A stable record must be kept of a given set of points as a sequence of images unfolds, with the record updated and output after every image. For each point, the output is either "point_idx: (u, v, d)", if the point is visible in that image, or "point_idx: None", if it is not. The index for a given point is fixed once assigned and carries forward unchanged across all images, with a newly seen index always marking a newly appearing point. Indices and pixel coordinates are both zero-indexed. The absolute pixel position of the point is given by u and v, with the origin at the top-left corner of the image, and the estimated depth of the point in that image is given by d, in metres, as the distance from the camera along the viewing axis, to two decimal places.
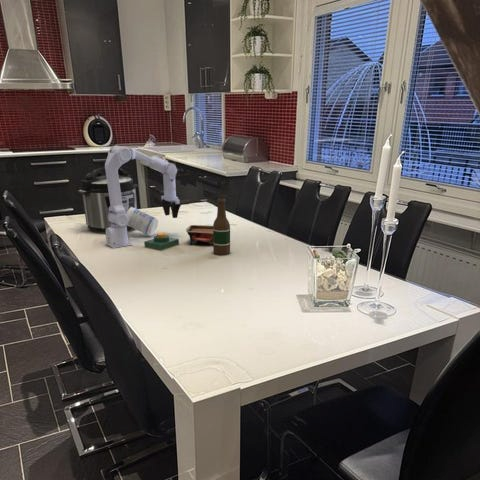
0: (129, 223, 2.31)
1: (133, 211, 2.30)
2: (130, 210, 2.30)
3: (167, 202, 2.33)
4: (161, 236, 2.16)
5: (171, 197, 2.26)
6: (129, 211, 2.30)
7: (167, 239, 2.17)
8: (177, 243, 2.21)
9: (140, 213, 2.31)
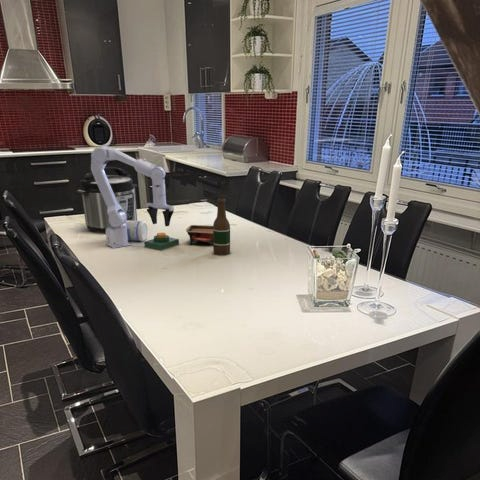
0: None
1: None
2: None
3: (154, 210, 2.15)
4: (161, 236, 2.16)
5: (163, 204, 2.10)
6: None
7: (167, 239, 2.17)
8: (177, 243, 2.21)
9: None
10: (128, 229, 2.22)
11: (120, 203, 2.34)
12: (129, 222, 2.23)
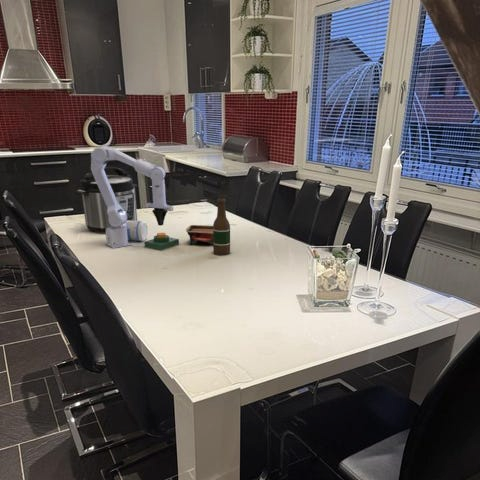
0: None
1: None
2: None
3: None
4: (161, 236, 2.16)
5: (162, 204, 2.10)
6: None
7: (167, 239, 2.17)
8: (177, 243, 2.21)
9: None
10: (128, 229, 2.22)
11: (120, 203, 2.34)
12: (129, 222, 2.23)
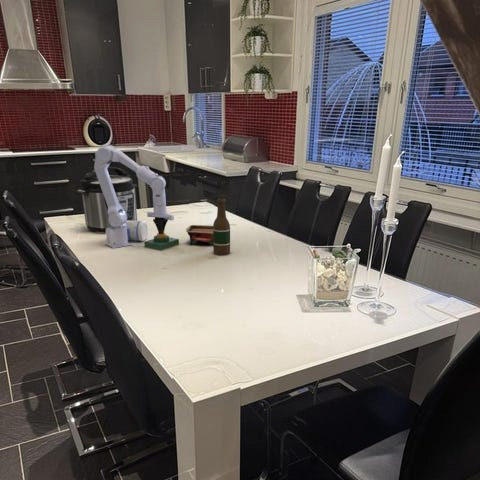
0: None
1: None
2: None
3: None
4: (161, 236, 2.16)
5: (163, 213, 2.11)
6: None
7: (167, 239, 2.17)
8: (177, 243, 2.21)
9: None
10: (128, 229, 2.22)
11: (120, 203, 2.34)
12: (129, 222, 2.23)
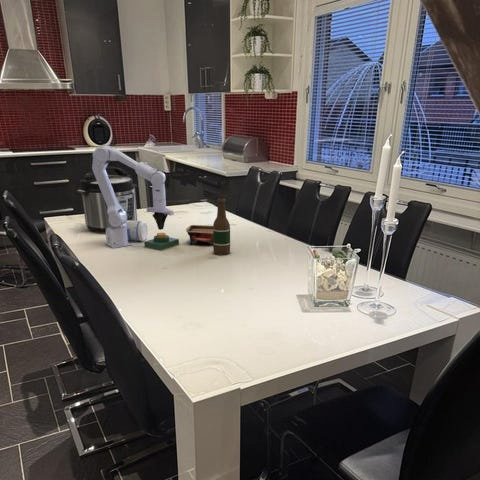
0: None
1: None
2: None
3: None
4: (161, 236, 2.16)
5: (163, 208, 2.11)
6: None
7: (167, 239, 2.17)
8: (177, 243, 2.21)
9: None
10: (128, 229, 2.22)
11: (120, 203, 2.34)
12: (129, 222, 2.23)
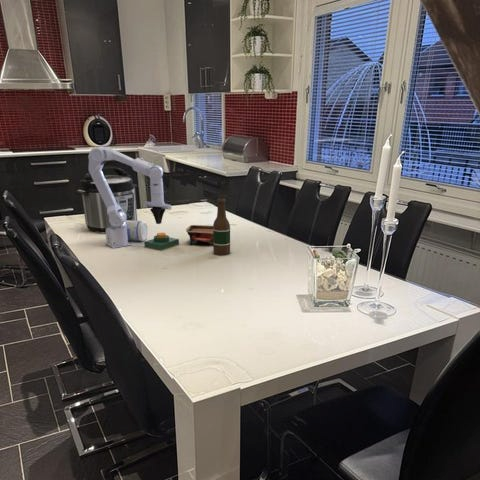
0: None
1: None
2: None
3: None
4: (161, 236, 2.16)
5: (160, 203, 2.10)
6: None
7: (167, 239, 2.17)
8: (177, 243, 2.21)
9: None
10: (128, 229, 2.22)
11: (120, 203, 2.34)
12: (129, 222, 2.23)
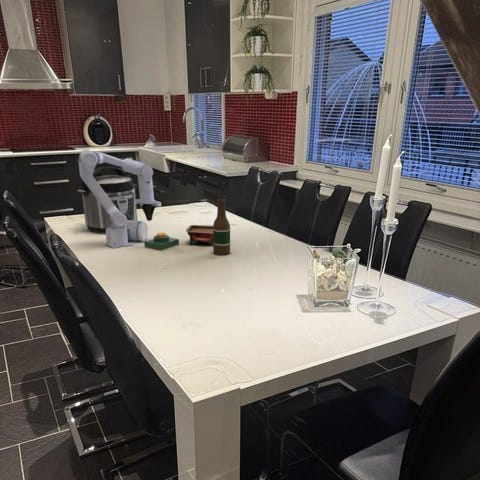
0: None
1: None
2: None
3: None
4: (161, 236, 2.16)
5: (150, 200, 2.16)
6: None
7: (167, 239, 2.17)
8: (177, 243, 2.21)
9: None
10: (128, 229, 2.22)
11: (120, 203, 2.34)
12: (129, 222, 2.23)
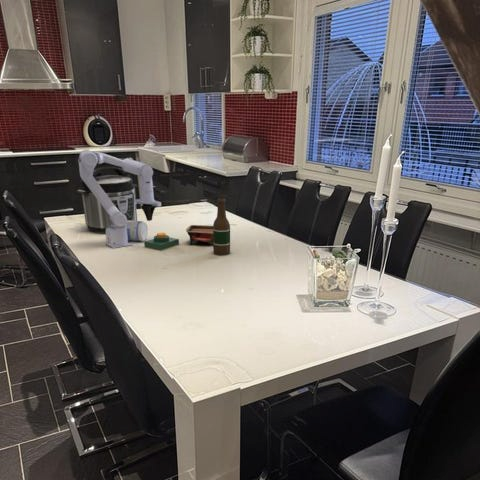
0: None
1: None
2: None
3: None
4: (161, 236, 2.16)
5: (150, 200, 2.16)
6: None
7: (167, 239, 2.17)
8: (177, 243, 2.21)
9: None
10: (128, 229, 2.22)
11: (120, 203, 2.34)
12: (129, 222, 2.23)
